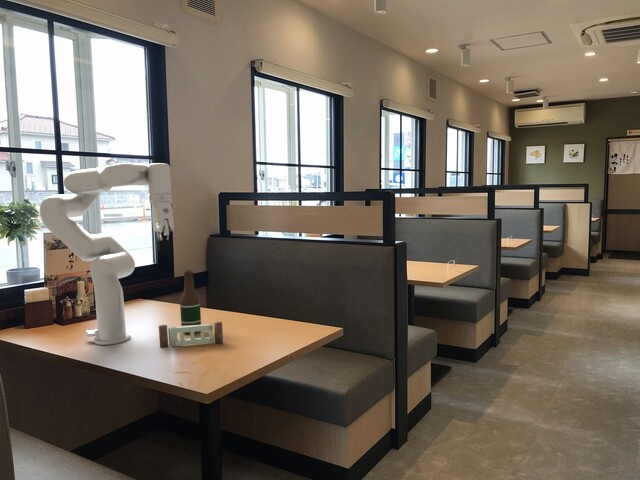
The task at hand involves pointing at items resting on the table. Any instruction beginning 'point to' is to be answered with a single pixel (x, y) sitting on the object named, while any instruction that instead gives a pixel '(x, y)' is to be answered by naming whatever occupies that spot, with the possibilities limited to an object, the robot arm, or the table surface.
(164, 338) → the gate posts
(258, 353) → the table surface
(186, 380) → the table surface
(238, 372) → the table surface
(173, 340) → the gate
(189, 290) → the beer bottle
